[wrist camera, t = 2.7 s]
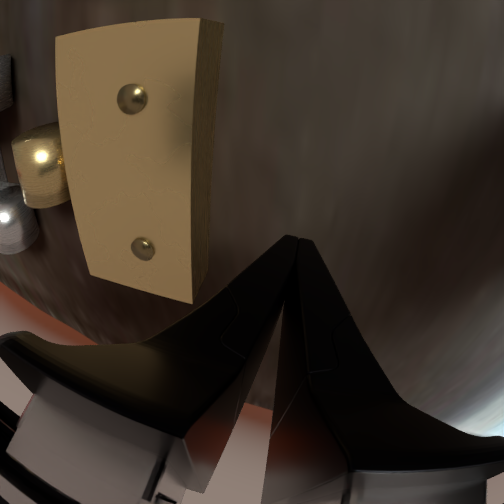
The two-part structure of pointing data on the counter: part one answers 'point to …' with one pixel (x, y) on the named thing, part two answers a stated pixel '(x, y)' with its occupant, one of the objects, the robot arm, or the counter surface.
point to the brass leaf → (133, 150)
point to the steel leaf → (13, 188)
